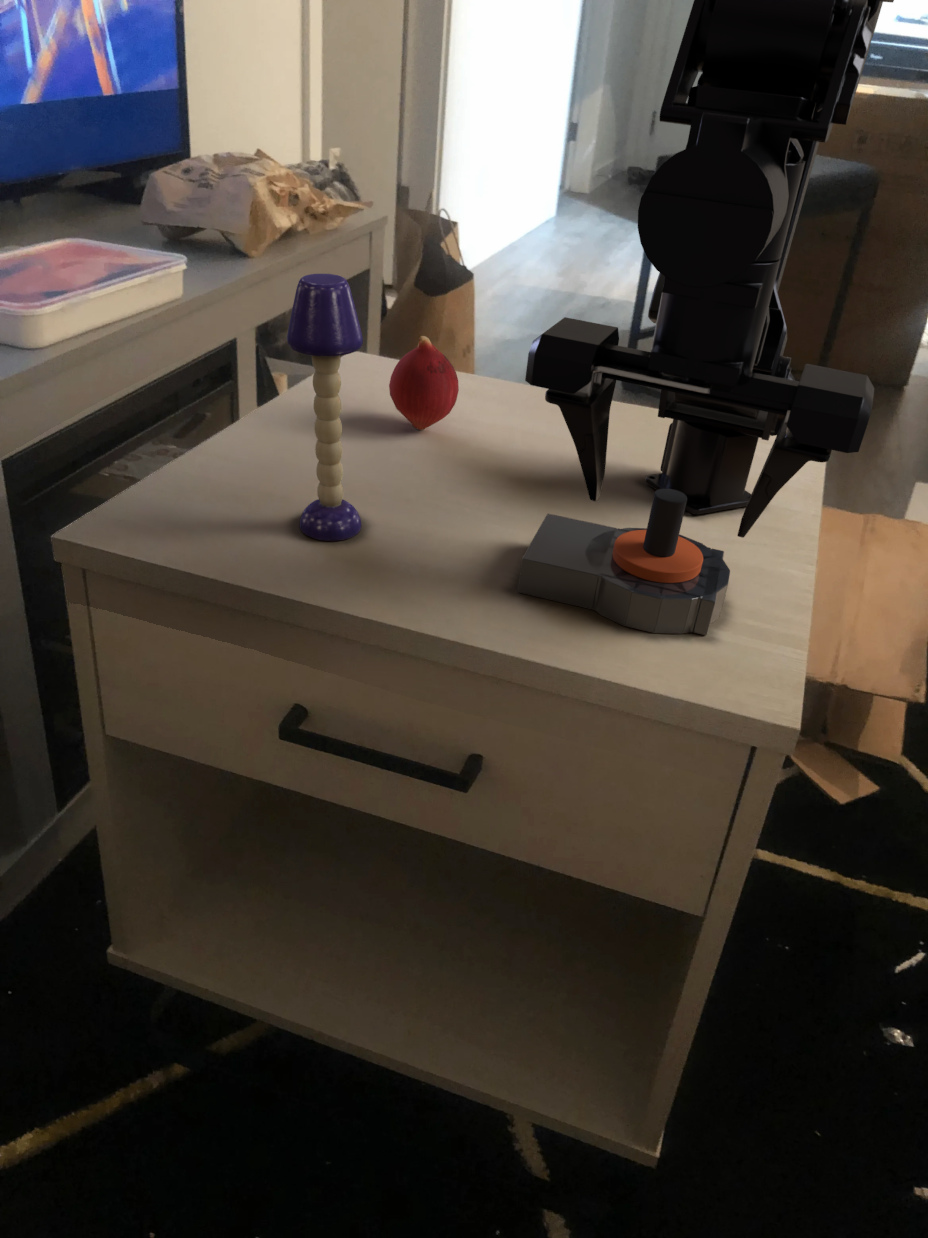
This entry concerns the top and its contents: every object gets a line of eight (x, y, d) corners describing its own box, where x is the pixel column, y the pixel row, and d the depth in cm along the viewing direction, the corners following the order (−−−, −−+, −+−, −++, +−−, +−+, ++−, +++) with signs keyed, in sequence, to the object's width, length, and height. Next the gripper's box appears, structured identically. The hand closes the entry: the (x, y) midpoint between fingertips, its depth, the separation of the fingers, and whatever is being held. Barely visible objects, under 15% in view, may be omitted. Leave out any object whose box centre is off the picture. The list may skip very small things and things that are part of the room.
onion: (458, 421, 85) (465, 331, 80) (450, 445, 80) (458, 350, 76) (393, 413, 85) (397, 323, 81) (382, 437, 80) (386, 342, 76)
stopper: (701, 580, 63) (724, 489, 59) (684, 620, 58) (708, 524, 55) (619, 558, 64) (636, 468, 61) (597, 596, 60) (614, 501, 56)
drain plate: (725, 577, 64) (734, 545, 63) (714, 647, 57) (724, 612, 55) (545, 538, 67) (550, 506, 66) (512, 600, 59) (517, 565, 58)
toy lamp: (313, 549, 63) (313, 291, 54) (277, 521, 66) (271, 271, 57) (373, 532, 66) (382, 283, 57) (336, 506, 68) (339, 265, 59)
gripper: (912, 254, 54) (831, 503, 62) (596, 205, 59) (561, 441, 67) (911, 293, 45) (817, 577, 53) (540, 231, 50) (507, 499, 59)
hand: (666, 516), depth 58 cm, fingers open, 9 cm apart
